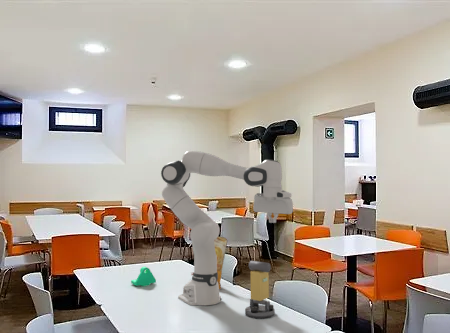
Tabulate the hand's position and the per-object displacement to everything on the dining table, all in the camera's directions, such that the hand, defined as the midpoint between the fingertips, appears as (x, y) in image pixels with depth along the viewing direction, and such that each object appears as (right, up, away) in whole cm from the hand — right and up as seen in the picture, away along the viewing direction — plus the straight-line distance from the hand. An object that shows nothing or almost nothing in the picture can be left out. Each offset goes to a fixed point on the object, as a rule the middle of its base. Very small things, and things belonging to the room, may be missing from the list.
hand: (272, 222), depth 203 cm
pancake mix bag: (-29, -40, +35) cm, 60 cm away
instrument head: (-7, -33, -14) cm, 37 cm away
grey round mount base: (-7, -39, -14) cm, 42 cm away
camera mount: (-69, -41, +39) cm, 89 cm away
